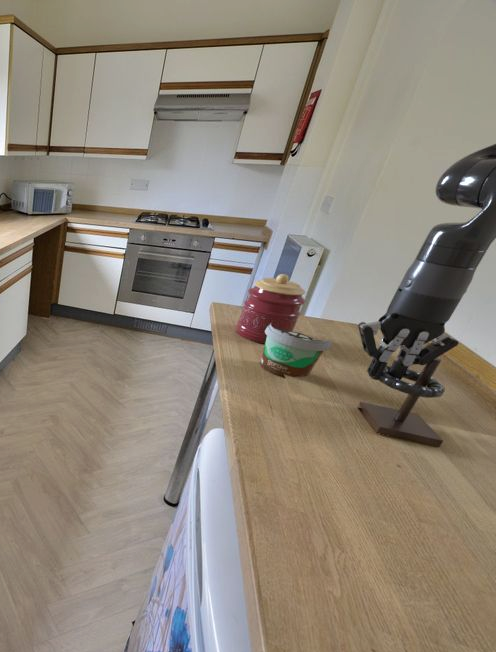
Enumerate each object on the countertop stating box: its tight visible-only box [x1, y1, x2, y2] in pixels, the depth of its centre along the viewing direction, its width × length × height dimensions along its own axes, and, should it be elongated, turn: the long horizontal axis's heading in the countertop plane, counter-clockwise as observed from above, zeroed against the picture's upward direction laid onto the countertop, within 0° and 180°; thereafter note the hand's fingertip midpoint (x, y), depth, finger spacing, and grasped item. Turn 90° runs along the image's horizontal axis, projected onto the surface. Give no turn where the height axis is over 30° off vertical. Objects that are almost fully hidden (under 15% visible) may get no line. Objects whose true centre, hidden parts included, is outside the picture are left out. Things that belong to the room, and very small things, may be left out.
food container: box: [260, 324, 332, 379], centre depth 92 cm, size 12×6×10 cm, turn 44°
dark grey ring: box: [378, 365, 446, 399], centre depth 74 cm, size 9×9×2 cm
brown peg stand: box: [356, 357, 444, 448], centre depth 74 cm, size 9×9×14 cm
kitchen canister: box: [235, 273, 307, 345], centre depth 110 cm, size 13×13×18 cm
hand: (381, 378), depth 75 cm, fingers closed on dark grey ring, 2 cm apart
